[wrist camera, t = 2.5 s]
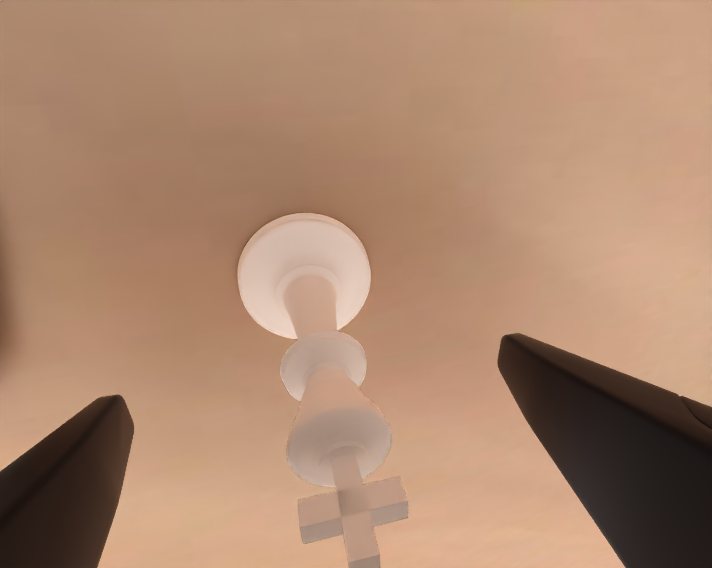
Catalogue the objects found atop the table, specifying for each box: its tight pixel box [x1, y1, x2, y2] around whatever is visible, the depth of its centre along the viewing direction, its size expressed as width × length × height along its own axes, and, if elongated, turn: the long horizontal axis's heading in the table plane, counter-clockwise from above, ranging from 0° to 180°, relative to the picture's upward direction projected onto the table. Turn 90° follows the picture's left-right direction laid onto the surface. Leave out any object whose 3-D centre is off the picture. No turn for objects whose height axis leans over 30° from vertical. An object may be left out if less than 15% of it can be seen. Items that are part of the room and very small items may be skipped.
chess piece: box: [237, 213, 408, 568], centre depth 10 cm, size 5×5×10 cm
